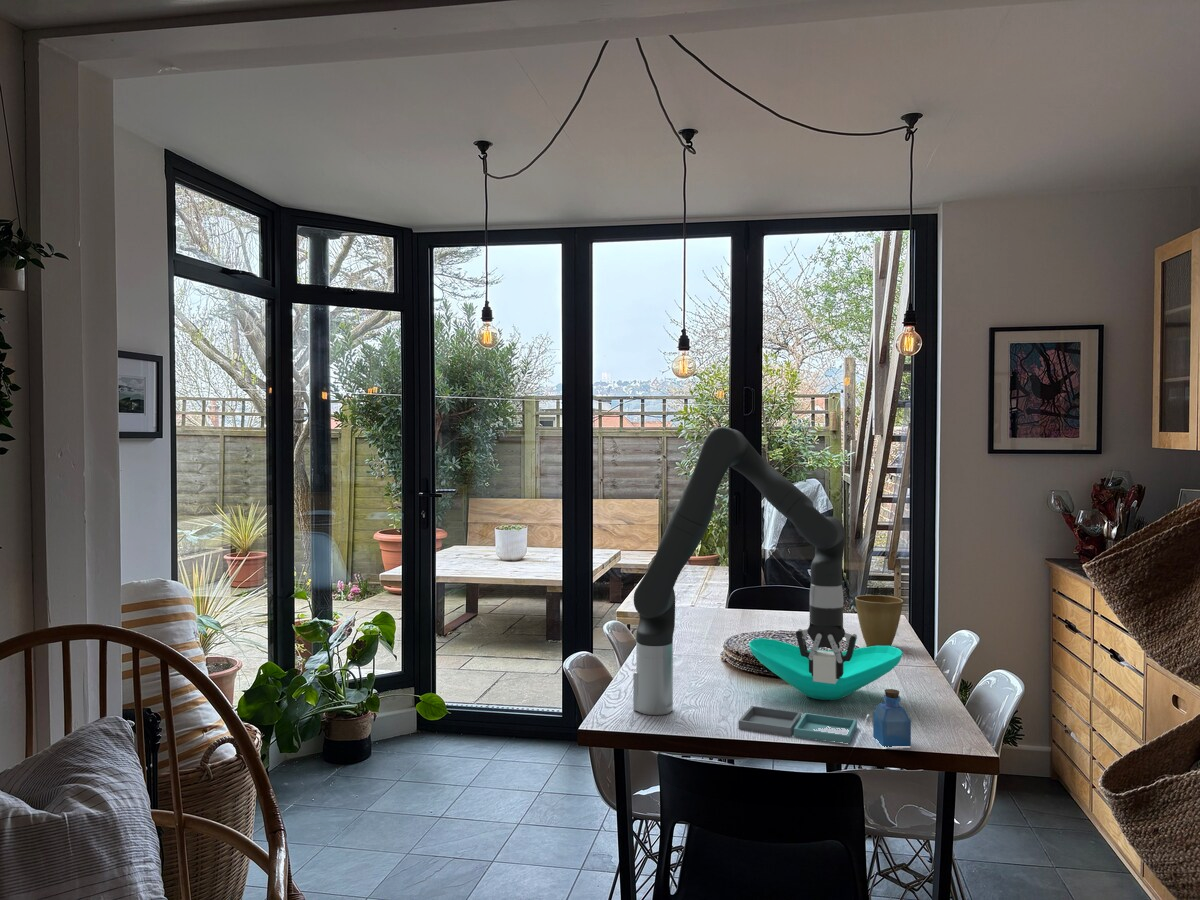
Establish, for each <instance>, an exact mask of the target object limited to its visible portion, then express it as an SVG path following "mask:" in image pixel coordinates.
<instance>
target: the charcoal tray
mask: <svg viewBox="0 0 1200 900" xmlns="http://www.w3.org/2000/svg"><path fill="white" fill-rule="evenodd" d="M801 717H802V712H801V711H794V710H786V709H780V708H779V709H778V708H771V707H765V706H757V705H751V706H750V707H749V708H748V709H747V710H746V711H745V712H744V713H743V715H742V716H741V717H740V718H739V719H738V722H737V723H738V724H737V726H738V729H739V730H740V729H741V730H746V731H753V732H758V733H759V732H760V733H765V734H766V733H767V734H774V735H779V736H787V737H792V734H794V728H795V726H796V725H797V723H798V722H799V720H800V719H801Z"/></svg>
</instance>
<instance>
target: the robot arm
mask: <svg viewBox="0 0 1200 900" xmlns="http://www.w3.org/2000/svg"><path fill="white" fill-rule="evenodd" d="M729 468H732V469H733V470H734V471H737V472H738V473H739V474H741V475H743V476H744V477H745V478H746V479H747V480H748V481H749V482H751V483H752V484H753V485H754V487H755V488H756V489H757V490H758V491H759V492H760V494H761V495H762V496H763V498H764V499H765V500H766V501H767V502H768V503H769V504H770V506H772V507H773V508H775V510H777V511H778V512H779V513H780V514H782V515H783V517H784V518H785V519H787V520H789V522H791V523H792V524H793V526H794V527H795V528H796V530H797V531H798V532H799V533H800V534H801V536H802V537H803V538H804V539H805V540H806V541H807V542H808V543H810V544H811V545H812V546H813V547H815V549H814V558H813V560H812V561H811V565H810V588H809V625H808V628H807V629H801V628H799V629H798V630H796V632H795V635H796V641H797V644H798V647H799V649H800V653H801V656H803V657H806V658H808V659H809V673H812V676H813V655H814V654H816V652H817V651H818V650H820V649H822V648H823V649H824V648H827V649H831V651H833V652H834V654H835V656H836V659H837V663H836V679H840V677H842V675H843V673H844V671H843V670H844V662H845V661H850V660H851V658H852V655H853V651H854V649H855V646H856V643H857V639H858V636H857V634H856V633H853V634H852V633H848V632H846V630H845V629H844V604H845V603H844V602H845V600H844V590H843V568H842V566H843V558H844V552H845V543H846V531H845V527H844V525H843V523H842V521H840V519H838V518H837V517H833V516H824V515H823V514H822V513H821V512H820V511H819V510H818V509H817V508H815V507H814V502H813V501H812V499H810V498H809V497H808V496H807V495H806V494H805V493H804V492H802V491H801V489H800V488H798V487H797V486H795V484H793V483H792V482H791V481H790V480H788V479H787V478H786V477H785V476H784V475H782V474H781V473H780V472H779V471H778V470H776V469H775V468H774V467H773V466H772V465H770V464H769V463H768V462H767V461H766V460H765V458H764V457H762V456H761V455H760V454H759V453H758V451H757V450H756V449H755V448H754V446H753V445H752V444H751V443H750V442H749V440H748V439H747V438H746V437H745V436H744V434H743V433H742V432H741V431H739V430H738V429H735V428H730V427H728V426H719V427H716V428H714V429H712V430H711V431H710V432H709V433H708V434H707V435H706V436H705V439H704V441H703V444H702V446H701V448H700V452H699V456H698V459H697V461H696V464H695V467H694V469H693V471H692V474H691V476H690V479H689V480H688V482H687V484H686V486H685V488H684V489H683V492H682V494H681V496H680V497H679V501H678V503H677V504H676V506H675V508H674V509H673V512H672V514H671V516H670V519H669V521H668V523H667V525H666V528H665V530H664V533H663V535H662V537H661V539H660V542H659V545H658V547H657V551H656V553H655V555H654V558H653V560H652V562H651V564H650V565H649V567H648V569H647V571H646V572H645V575H643V577H642V579H641V581H640V582H639V584H638V585H637V587H636V588H635V590H634V593H633V604H634V605H633V606H634V608H635V610H636V612H637V613H638V614H639V621H638V626H637V629H636V634H635V635H636V636H635V637H636V639H635V642H636V646H635V648H636V650H635V651H636V654H635V655H636V656H635V657H636V660H635V661H636V665H635V666H636V668H635V669H636V670H635V671H634V672H633V675H632V676H633V677H632V678H633V683H632V684H633V685H632V686H633V688H632V689H633V692H632V694H633V696H632V697H633V699H632V700H633V701H632V702H633V707H632V710H633V711H636V712H639V713H640V714H644V715H648V716H662V715H667V714H670V713H672V712H673V711H672V710H674V708H673V707H674V699H673V698H674V697H673V696H674V686H673V685H674V677H673V676H674V668H673V667H674V665H673V664H674V645H673V644H674V632H675V625H676V594H675V585H676V583H677V581H678V577H679V576H680V574H681V572H682V570H683V569H684V567H685V566H686V564H687V563H688V562H689V560H690V559H691V557H693V555H694V553H695V551H696V550H697V548H698V547H699V545H700V543H701V541H702V540H703V538H704V536H705V534H706V531H707V530H708V528H709V525H710V523H711V520H712V517H713V514H714V509H715V505H716V498H717V493H718V490H719V487H720V484H721V483H722V480H723V479H724V477H725V476H726V473H727V471H728V470H729ZM808 635H809V637H810V639H811V640H812V642H813V643H812V647H811V648H810V650H811V652H809V651H808V650H809V649H808V646H807V642H806V639H807V637H808ZM844 638H845V641H846V642H845V643H846V644H848V646H847V649H846V651H847V653H846V655H843V654H842V652H843V650H842V647H841V644H840V642H842V640H843V639H844ZM671 711H672V712H671Z"/></svg>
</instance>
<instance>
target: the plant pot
mask: <svg viewBox="0 0 1200 900" xmlns="http://www.w3.org/2000/svg"><path fill="white" fill-rule="evenodd" d="M854 601H855V607H856V612H857V618H858V622H859V627H860V631H861V634H862V638H863V640H864V643H865V647H871V646H893V642H894V640H895V637H896V634H897V630H898V627H899V625H900V621H901V620H900V619H901V614H902V611H903V606H904V605H903V603H904V600H903V599H901V598H899V597H895V596H890V595H889V596H888V595H880V594H879V595H877V594H872V595H871V594H869V595H868V594H866V595H857V596H855V598H854Z"/></svg>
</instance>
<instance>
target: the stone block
mask: <svg viewBox="0 0 1200 900" xmlns="http://www.w3.org/2000/svg"><path fill="white" fill-rule="evenodd" d="M828 651H829V650H825V651H817V652H816V654H814V655H813V681H814V682H823V683H832V684H836V682H837V680H838V679H836V663H837V659H836V656H835V654H834V652H828Z"/></svg>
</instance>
